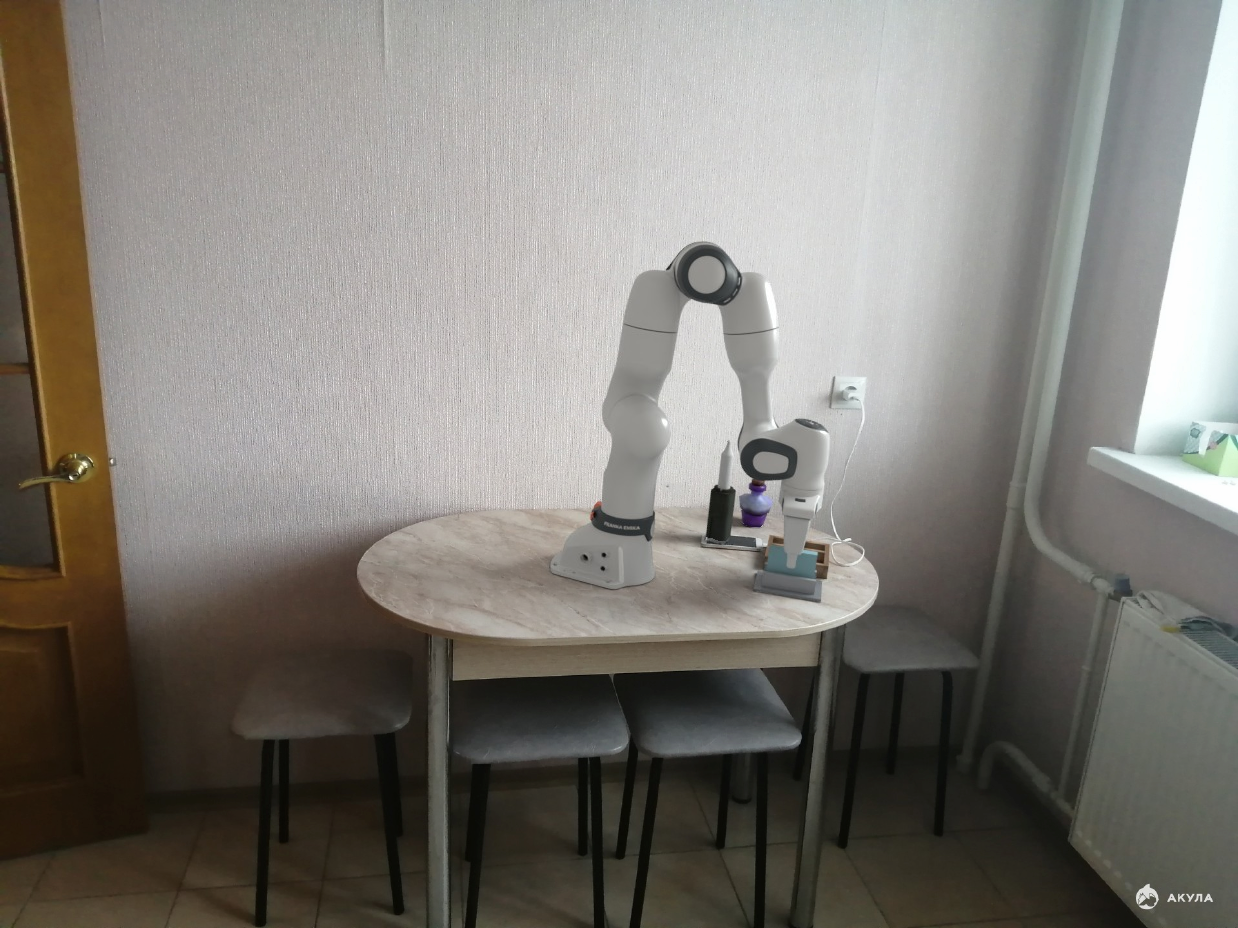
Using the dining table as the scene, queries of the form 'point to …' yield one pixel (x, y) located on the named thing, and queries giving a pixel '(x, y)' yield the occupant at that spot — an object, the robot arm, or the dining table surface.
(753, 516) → the potion bottle
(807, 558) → the teal flat block
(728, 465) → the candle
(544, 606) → the dining table surface
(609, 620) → the dining table surface
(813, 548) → the rack
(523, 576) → the dining table surface
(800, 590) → the slate stand
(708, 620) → the dining table surface
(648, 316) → the robot arm
